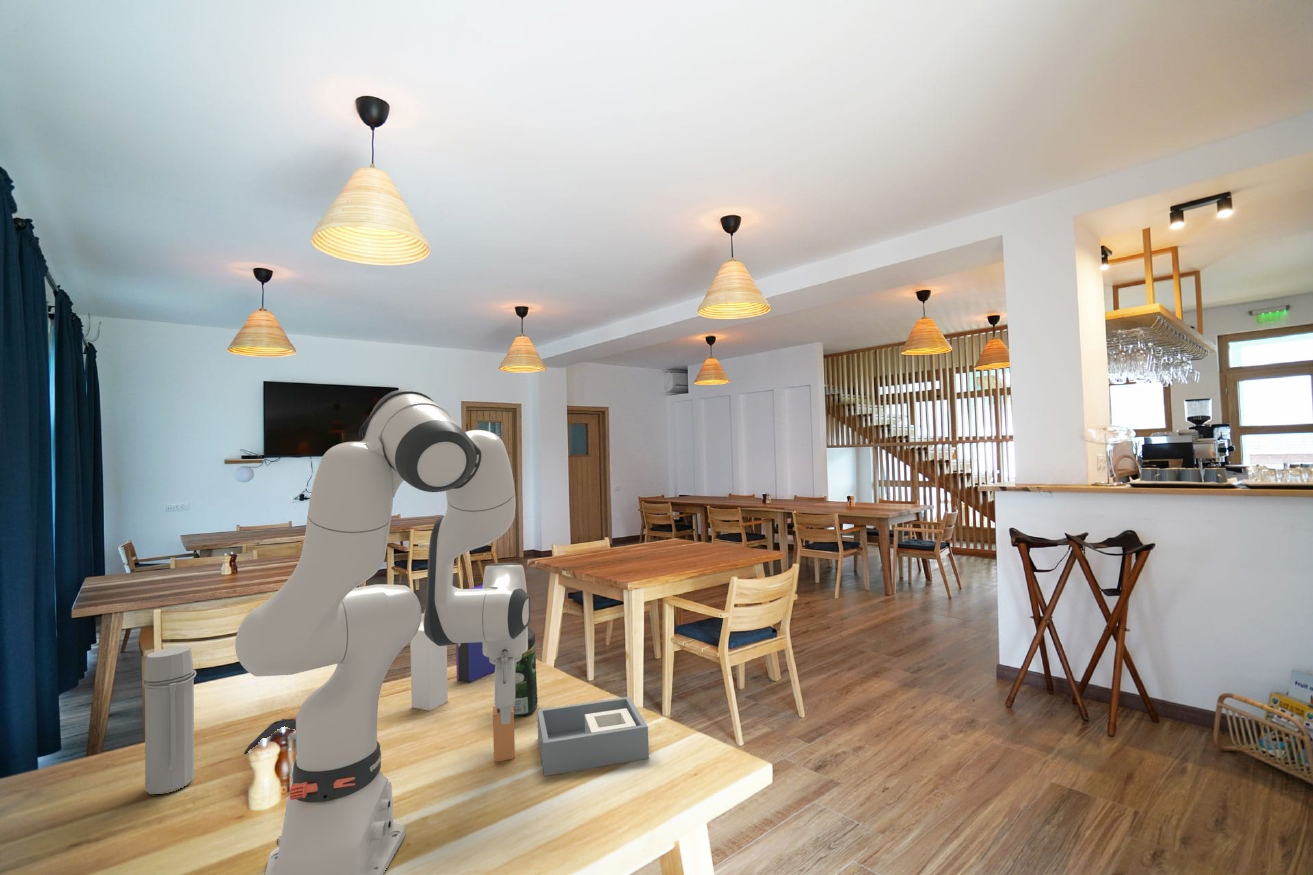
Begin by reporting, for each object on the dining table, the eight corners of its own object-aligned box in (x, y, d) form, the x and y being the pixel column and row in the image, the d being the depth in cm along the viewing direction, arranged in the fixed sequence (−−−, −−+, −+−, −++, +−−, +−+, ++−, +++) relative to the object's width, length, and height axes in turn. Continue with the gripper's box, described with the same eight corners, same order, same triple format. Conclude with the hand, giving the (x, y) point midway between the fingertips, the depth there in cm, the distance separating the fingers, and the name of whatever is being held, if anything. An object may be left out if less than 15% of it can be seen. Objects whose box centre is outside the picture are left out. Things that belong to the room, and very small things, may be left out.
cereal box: (503, 661, 178) (500, 579, 179) (515, 663, 176) (512, 580, 177) (456, 680, 163) (454, 591, 164) (469, 683, 161) (467, 593, 162)
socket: (637, 745, 120) (636, 725, 120) (592, 753, 117) (591, 732, 117) (627, 727, 128) (626, 708, 128) (585, 733, 126) (584, 714, 126)
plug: (515, 758, 119) (513, 707, 119) (494, 761, 118) (492, 710, 118) (514, 748, 122) (512, 700, 123) (493, 752, 121) (492, 702, 122)
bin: (648, 757, 117) (647, 726, 117) (544, 775, 111) (543, 742, 112) (630, 724, 132) (629, 696, 132) (538, 738, 127) (537, 709, 127)
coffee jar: (507, 702, 147) (505, 625, 148) (540, 700, 147) (537, 624, 148) (498, 719, 137) (495, 636, 138) (532, 717, 137) (530, 635, 138)
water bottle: (140, 788, 112) (140, 652, 113) (193, 771, 118) (192, 642, 119) (145, 807, 106) (145, 663, 107) (201, 788, 111) (200, 652, 112)
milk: (429, 698, 151) (428, 610, 152) (448, 701, 149) (446, 611, 150) (411, 708, 146) (409, 615, 147) (429, 711, 143) (428, 617, 144)
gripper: (521, 658, 111) (522, 734, 111) (521, 627, 131) (522, 690, 131) (486, 661, 110) (487, 738, 109) (491, 629, 129) (492, 694, 129)
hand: (506, 712), depth 120 cm, fingers open, 8 cm apart
